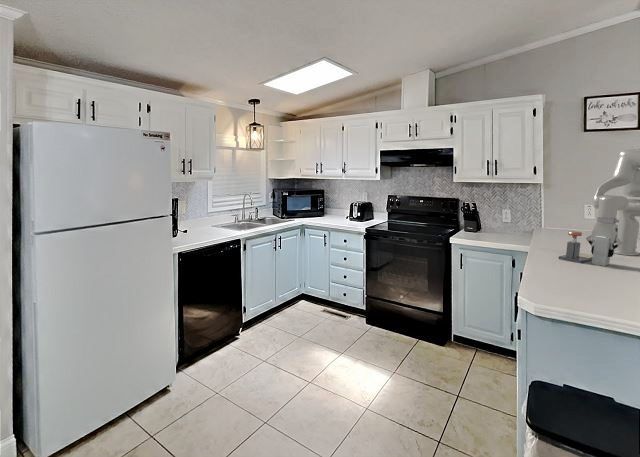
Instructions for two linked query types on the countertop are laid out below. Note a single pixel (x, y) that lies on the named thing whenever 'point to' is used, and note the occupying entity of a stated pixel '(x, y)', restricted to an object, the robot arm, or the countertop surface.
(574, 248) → the press base
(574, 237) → the plunger
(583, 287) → the countertop surface
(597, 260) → the skincare box
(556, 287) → the countertop surface
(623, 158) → the robot arm
